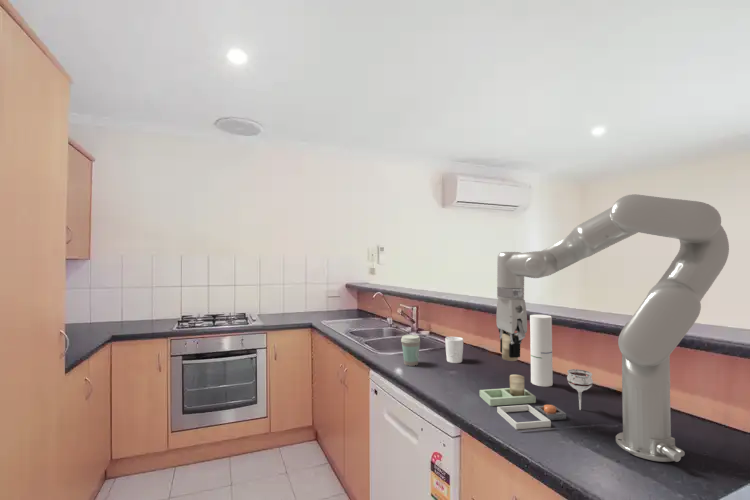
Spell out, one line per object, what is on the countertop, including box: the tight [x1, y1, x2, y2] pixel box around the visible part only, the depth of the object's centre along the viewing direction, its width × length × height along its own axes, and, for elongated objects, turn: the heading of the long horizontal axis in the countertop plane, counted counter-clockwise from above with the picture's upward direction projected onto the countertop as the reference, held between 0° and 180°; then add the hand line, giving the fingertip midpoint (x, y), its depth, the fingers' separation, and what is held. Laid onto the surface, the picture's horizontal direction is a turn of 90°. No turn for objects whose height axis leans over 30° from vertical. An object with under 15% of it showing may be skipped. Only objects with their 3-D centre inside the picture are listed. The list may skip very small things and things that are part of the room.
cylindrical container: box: [529, 314, 554, 388], centre depth 135 cm, size 7×7×25 cm
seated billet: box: [509, 374, 525, 396], centre depth 121 cm, size 4×4×7 cm
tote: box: [496, 404, 552, 432], centre depth 106 cm, size 11×10×2 cm
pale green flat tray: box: [479, 387, 537, 407], centre depth 120 cm, size 8×15×3 cm, turn 98°
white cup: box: [444, 336, 464, 364], centre depth 167 cm, size 8×8×10 cm
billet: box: [501, 334, 519, 362], centre depth 111 cm, size 4×4×7 cm
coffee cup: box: [400, 334, 421, 367], centre depth 163 cm, size 8×8×12 cm
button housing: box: [534, 404, 567, 421], centre depth 108 cm, size 6×6×2 cm
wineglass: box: [566, 368, 594, 411], centre depth 112 cm, size 7×7×12 cm
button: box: [543, 404, 557, 413], centre depth 108 cm, size 3×3×3 cm
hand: (509, 354), depth 111 cm, fingers closed on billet, 4 cm apart
